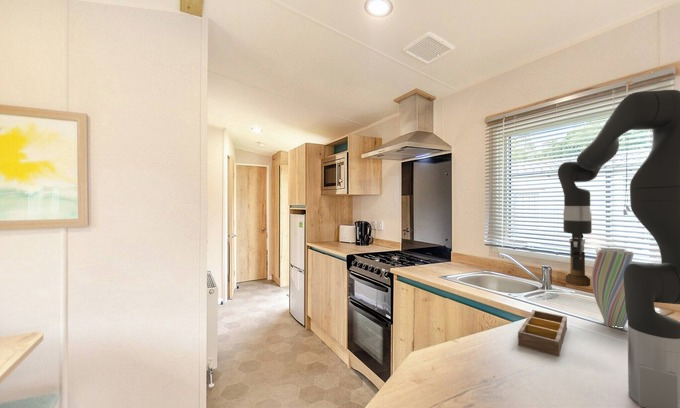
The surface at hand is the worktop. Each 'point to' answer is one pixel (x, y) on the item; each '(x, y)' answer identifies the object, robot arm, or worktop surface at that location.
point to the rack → (543, 332)
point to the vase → (611, 284)
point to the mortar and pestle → (578, 272)
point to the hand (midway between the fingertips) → (577, 268)
